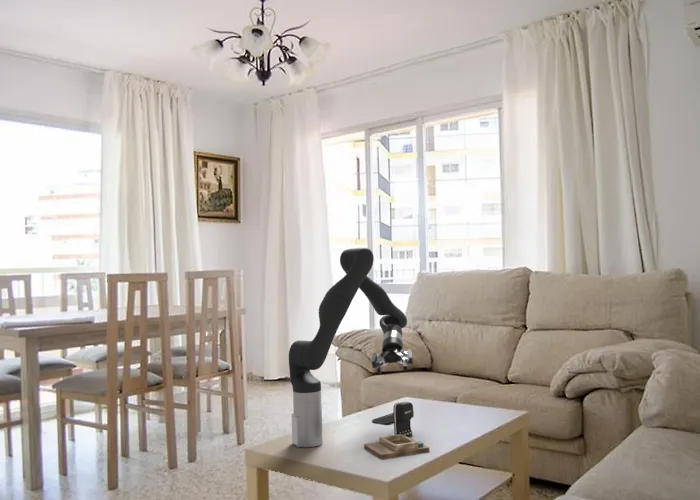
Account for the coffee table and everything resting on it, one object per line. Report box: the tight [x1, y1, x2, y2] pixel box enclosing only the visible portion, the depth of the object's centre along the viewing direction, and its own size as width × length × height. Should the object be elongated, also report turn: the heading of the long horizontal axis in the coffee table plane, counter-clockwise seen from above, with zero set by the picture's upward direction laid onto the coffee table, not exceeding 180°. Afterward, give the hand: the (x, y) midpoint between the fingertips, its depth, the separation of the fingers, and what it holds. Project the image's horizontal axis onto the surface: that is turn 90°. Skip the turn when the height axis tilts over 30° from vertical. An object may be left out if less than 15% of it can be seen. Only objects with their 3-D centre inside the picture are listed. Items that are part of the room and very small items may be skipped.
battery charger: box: [392, 400, 415, 438], centre depth 208 cm, size 7×4×11 cm, turn 135°
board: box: [363, 434, 430, 460], centre depth 193 cm, size 16×13×3 cm
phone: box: [371, 412, 394, 426], centre depth 232 cm, size 8×1×15 cm
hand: (392, 370), depth 212 cm, fingers open, 8 cm apart
